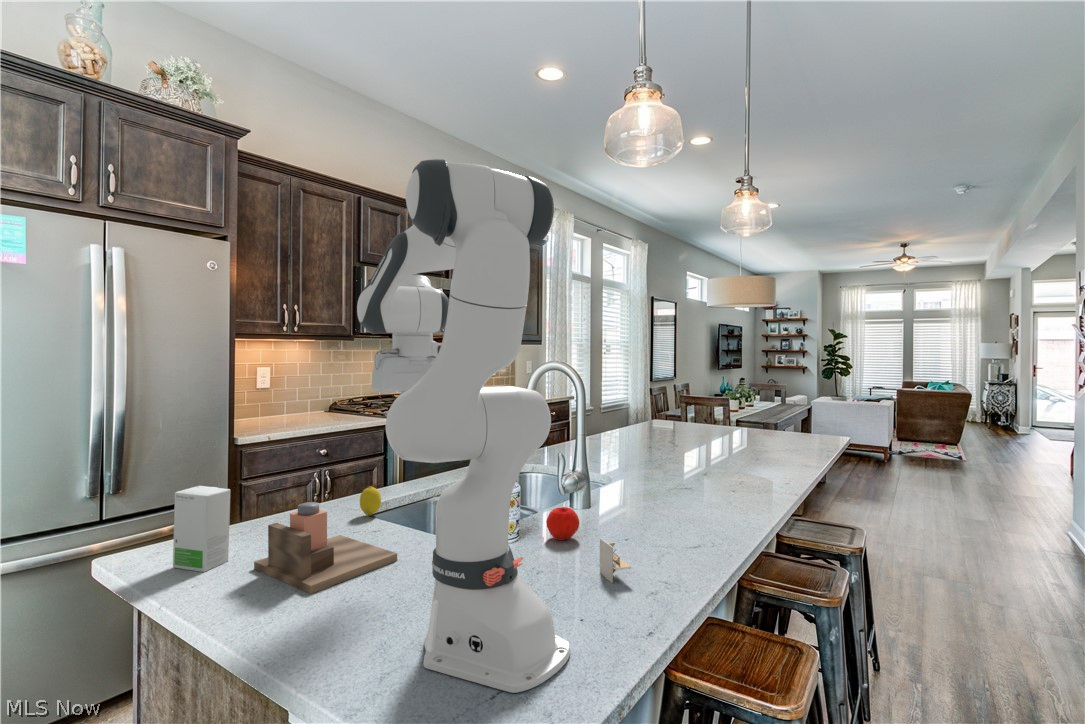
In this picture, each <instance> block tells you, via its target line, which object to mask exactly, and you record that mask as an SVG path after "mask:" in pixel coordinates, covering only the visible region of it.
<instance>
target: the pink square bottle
mask: <svg viewBox="0 0 1085 724" xmlns="http://www.w3.org/2000/svg"><path fill="white" fill-rule="evenodd" d="M289 527H291V528H294V529H297V530H300V531H303V532H306V533H309V534H311V551H314V550H317V549H320V548H323V547H326V546H327V539H328V512H327V511H326V510H322V509H320V503H319V502H315V501H309V502H308V501H307V502H303V503H299V504H298V505H297V511H295V512H290V513H289Z"/></svg>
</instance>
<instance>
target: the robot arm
mask: <svg viewBox="0 0 1085 724" xmlns="http://www.w3.org/2000/svg"><path fill="white" fill-rule="evenodd" d="M550 190H551V189H550V188H549V187H548V185H547V184H546V183H545V182H542V181H541V180H539V179H537V178H535V177H532V176H528V175H523V176H522V175H519V174H517V173H516V174H515V173H512V172H509V171H506V170H505V171H504V170H501V169H497V168H491V167H490V166H488V165H483V164H479V163H478V164H477V163H468V162H454V161H446V160H445V159H442V158H441V159H440V158H438V159H436V158H435V159H433V158H432V159H426V160H425V159H424V160H421V161H420V162H419V163H417V165H415V167H414V168H413V170H412V172H411V175H410V178H409V179H408V182H407V185H406V190H405V202H406V204H405V205H406V209H407V211H408V217H409V221H411V223H412V224H413V225H411V226H410V227H409V228H407V229H405V230H404V231H401V232H400V233H398V234H396V235H395V236H394V237H393V239H392V240H391V241H390V243H389V244H388V246H387V248H386V250H385V252H384V253H383V255H382V257H381V260H380V261H379V262H378V265H377V267H376V268H375V270H374V273H373V275H372V276H371V277H370V280H369V282H368V283H367V285H365V286H364V288H362V290H361V292H360V293H359V294H360V295H359V297H358V300H357V306H356V309H357V310H356V313H357V314H356V315H357V320H358V323H359V324H360V325H361V326H362V327H363V328H364V329H365V330H366V331H368V332H369V333H370V334H372V335H378V334H389V333H391V334H392V348H380V349H379V350H378V351H376V353H375V354H374V355H373V366H372V367H373V368H372V374H371V388H372V390H373V392H375V393H394V392H400V394H399V395H398V396H397V397H396V399H395V400H394V401H393V402H392V403H391V406H390V407H389V410H388V412H387V415H386V418H385V419H386V420H385V434H386V438H387V441H388V443H389V445H390V447H391V449H392V451H393V453H395V454H396V455H397V456H398V458H400V459H401V460H404V461H410V462H418V463H428V464H429V463H430V464H439V463H446V462H449V463H450V462H457V461H468V460H470V461H469V464H468V466H467V469H465V472H464V474H462V476H461V477H460V478H459V479H458V480H456V481H454V483H452V484H450V485H449V486H447V487H446V488H445V489H443V491H442V492H441V494H440V495H439V497H438V498H437V502H436V505H435V548H434V549H433V550H432V560H431V567H432V569H431V570H432V573H431V574H432V576H433V578H434V586H433V587H434V588H433V595H432V599H431V600H432V601H431V608H430V615H429V616H430V617H429V622H428V628H427V632H426V635H425V638H424V644H423V645H424V650H425V653H424V656H423V667H424V668H425V669H427V670H431V671H434V672H438V673H441V674H444V675H448V676H451V677H455V678H459V679H463V680H465V681H469V682H473V683H475V684H476V683H477V684H480V685H484V686H487V687H490V688H494V689H497V690H499V691H503V692H508V693H513V694H514V693H521V692H525V691H528V690H530V689H534V688H535V687H537V686H539V685H541V684H543V683H545V682H546V681H547V680H548V679H551V677H553V676H554V675H555V674H557V673H558V672H559V671H560V670H561V669H562V668H563V667H564V665H565V664H566V663H567V662H568V660H569V657H570V655H571V644H570V642H569V641H568V640H566V639H565V638H563V637H561V636H559V635H557V634H556V633H555V624H554V619H553V614H552V612H551V610H550V608H549V607H548V606H547V605H546V604H545V602H544V601H543V600H542V599H540V597H539V596H538V594H536V593H535V592H534V591H533V590H532V589H531V587H530V586H529V585H528V584H527V583H526V582H525V580H523V579H522V578H521V577H520V576H519V574H518V573H519V570H518V567H521V566H522V565H523V564H524V563H523V562H521V561H522V560H523V559H524V557H522V556H521V557H518V558H517V559H515V557H514V555H513V551H512V548H511V546H510V545H509V527H510V526H509V525H510V510H511V509H510V508H511V506H510V505H511V499H512V496H513V495H512V494H513V491H514V488H515V484H516V482H517V479H518V478H519V475H520V473H521V471H522V469H523V468H524V467H525V464H526V463H527V461H528V460H529V459H530V458H531V457H532V455H534V453H535V452H536V451H537V450H539V448H541V446H543V445H544V443H545V442H546V441H547V438H548V436H549V434H550V431H551V427H552V426H551V425H552V415H551V414H552V413H551V410H550V408H549V407H550V406H549V405H548V402H547V400H546V399H545V398H544V396H543V395H542V394H541V393H540V392H538V391H537V390H533V389H530V388H526V387H525V388H524V387H518V386H514V385H513V386H512V385H497V386H496V385H493V386H485V384H486V383H487V382H488V381H489V379H490V378H492V377H493V376H494V375H495V374H497V373H498V372H500V371H502V370H504V369H505V368H507V367H508V366H510V365H511V364H512V363H513V362H514V361H515V360H516V359H517V357H518V355H519V353H520V351H521V347H522V341H523V339H522V338H523V333H524V326H525V320H526V312H527V306H528V300H529V290H530V289H529V288H530V276H531V258H530V257H531V255H530V254H531V253H530V250H531V249H530V247H531V246H536V245H539V244H540V243H541V242H542V241H543V240H544V239H545V238H546V237H547V235H548V234H549V232H550V230H551V227H552V224H553V219H554V215H555V214H554V213H555V211H554V210H555V208H554V207H555V205H554V197H553V195H552V193H551V191H550ZM448 270H453V271H452V276H451V277H452V278H451V283H450V289H449V290H450V291H449V297H447V295H446V294H445V293H444V292H443V291H442V290H441V289H440V288H439V289H438V288H435V287H433V286H432V283H431V280H430V278H428V277H427V276H424V275H422V274H423V273H431V272H439V271H448ZM421 273H422V274H421ZM420 274H421V275H420ZM443 329H444V333H443V337H442V341H441V343H439V342H437V341H435V340H434V337H433V336H434V335H433V334H434V333H439V332H440V331H442V330H443Z"/></svg>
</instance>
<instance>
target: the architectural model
mask: <svg viewBox="0 0 1085 724" xmlns="http://www.w3.org/2000/svg"><path fill="white" fill-rule="evenodd" d="M616 543H617V542H616V541H615V542H607V541H606V540H605V539H602V537H600V538H599V573H600V574H601V575H602V576H603V577H604V578H606V579H607V581H609V582H610V583H611V584H613V583H614V573H615V572H616V571H623V570H629V569H632V566H631V565H630V564H628V563H627V562H626V561H624V560H623V559H622V558H621V556H619V555H618V554H617V553H615V551H616V550H614V547H615V544H616ZM619 578H620V577H619Z"/></svg>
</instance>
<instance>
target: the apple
mask: <svg viewBox="0 0 1085 724" xmlns="http://www.w3.org/2000/svg"><path fill="white" fill-rule="evenodd" d="M579 518H580V517H579V516H578V514H577V513H576V511H575V510H574V509H572V508H570V507H567V506H566V507H565V506H564V507H556V508H553V509H552V510H551V511H550V512H549V513H548V516H547V518H546V521H545V522H546V529H547V530H548V532H549V534H550V535H551V536H552V537H553V539H555V540H557V539H558V540H559V541H563V540H565V541H566V540H569V539H571V538H572V537H573V536H574V535H575V534H576V533H577V531H578V530H579V527H580V519H579Z"/></svg>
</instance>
